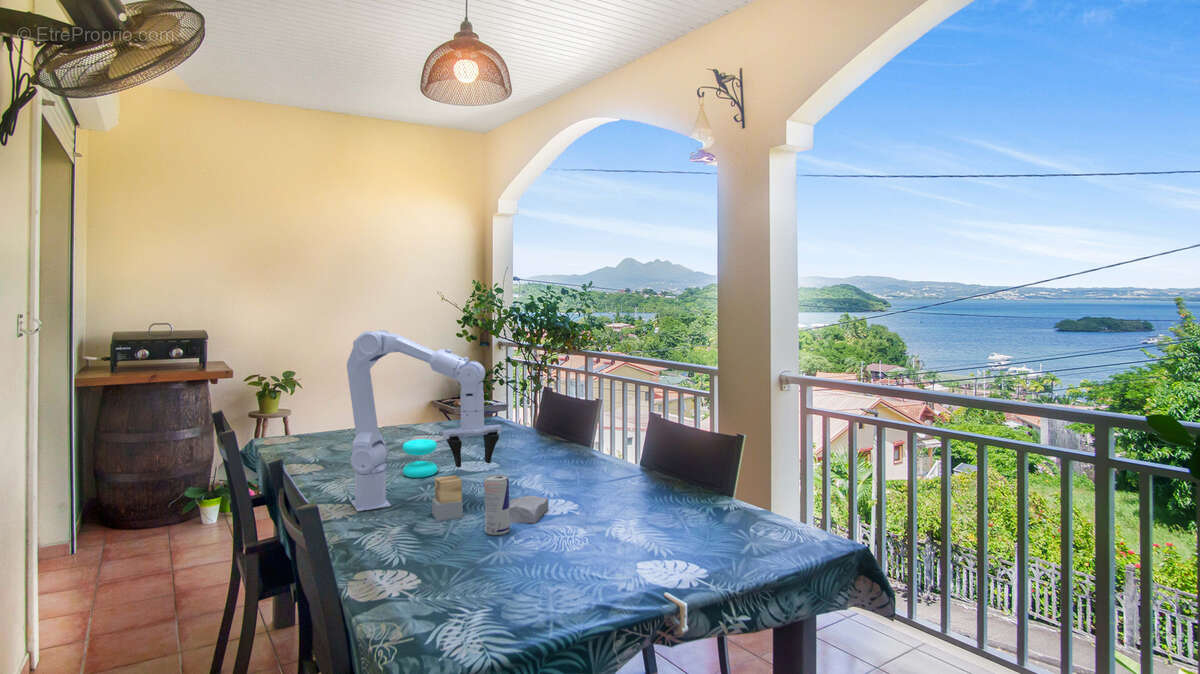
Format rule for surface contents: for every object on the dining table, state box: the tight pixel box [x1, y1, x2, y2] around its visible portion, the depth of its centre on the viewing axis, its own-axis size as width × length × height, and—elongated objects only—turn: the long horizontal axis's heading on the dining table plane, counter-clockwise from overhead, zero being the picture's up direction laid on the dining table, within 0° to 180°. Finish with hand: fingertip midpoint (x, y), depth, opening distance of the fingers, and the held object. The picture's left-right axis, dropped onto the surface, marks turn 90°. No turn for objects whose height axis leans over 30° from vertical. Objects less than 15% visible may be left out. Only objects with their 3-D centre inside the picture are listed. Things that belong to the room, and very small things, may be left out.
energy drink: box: [483, 474, 511, 536], centre depth 141 cm, size 5×5×12 cm
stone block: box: [509, 495, 549, 524], centre depth 152 cm, size 12×5×10 cm
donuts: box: [402, 438, 438, 479], centre depth 192 cm, size 10×10×10 cm
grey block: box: [431, 497, 464, 522], centre depth 152 cm, size 6×6×4 cm
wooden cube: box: [434, 474, 463, 504], centre depth 152 cm, size 5×5×5 cm
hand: (473, 464), depth 159 cm, fingers open, 7 cm apart
